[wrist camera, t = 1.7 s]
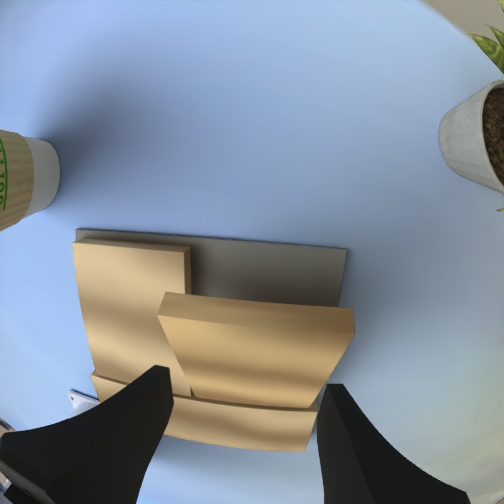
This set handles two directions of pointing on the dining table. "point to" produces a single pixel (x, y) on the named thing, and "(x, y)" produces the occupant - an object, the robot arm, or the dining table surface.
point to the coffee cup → (26, 177)
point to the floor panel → (202, 284)
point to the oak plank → (255, 347)
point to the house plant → (478, 126)
